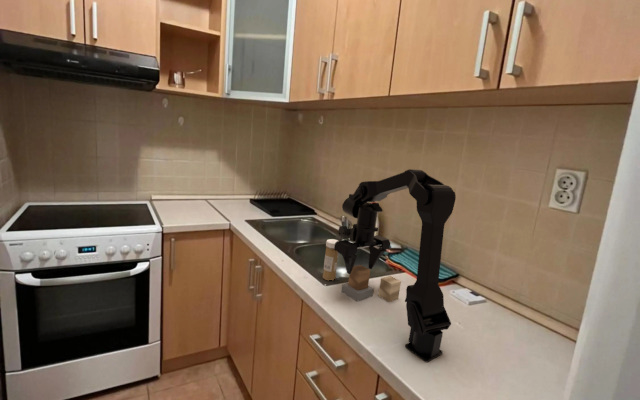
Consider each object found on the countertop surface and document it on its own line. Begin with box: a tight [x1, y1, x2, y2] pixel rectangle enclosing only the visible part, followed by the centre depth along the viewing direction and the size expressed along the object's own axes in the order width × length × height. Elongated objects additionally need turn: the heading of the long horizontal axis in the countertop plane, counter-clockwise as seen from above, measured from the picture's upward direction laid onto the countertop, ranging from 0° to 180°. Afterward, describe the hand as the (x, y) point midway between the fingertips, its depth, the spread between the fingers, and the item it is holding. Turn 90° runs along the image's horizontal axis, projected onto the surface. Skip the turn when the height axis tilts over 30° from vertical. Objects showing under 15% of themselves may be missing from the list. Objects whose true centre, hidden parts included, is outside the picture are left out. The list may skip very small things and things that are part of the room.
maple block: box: [378, 275, 402, 303], centre depth 108 cm, size 4×4×6 cm
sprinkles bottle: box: [322, 238, 339, 281], centre depth 116 cm, size 5×5×13 cm
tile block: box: [340, 282, 375, 303], centre depth 108 cm, size 7×7×3 cm
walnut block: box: [347, 264, 371, 291], centre depth 107 cm, size 4×4×6 cm
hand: (359, 271), depth 106 cm, fingers open, 9 cm apart
